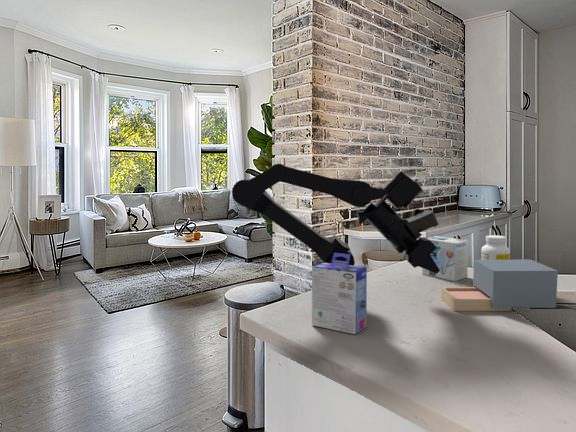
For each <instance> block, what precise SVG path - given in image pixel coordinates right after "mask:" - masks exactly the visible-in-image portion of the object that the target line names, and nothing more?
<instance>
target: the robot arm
mask: <svg viewBox="0 0 576 432" xmlns="http://www.w3.org/2000/svg"><path fill="white" fill-rule="evenodd" d="M278 183H285V184H287V185H288V184H289V185H291V186H296V187H300V188H302V189H303V188H304V189H308V190H311V191H315V192H319V193H322V194H323V193H324V194H327V195H329V196H332V197H333V198H336V199H338V200H340V201H342V202H344V203H347V204H349V205H351V206H353V207H356V208H363V207H365V208H364V209H363V210H362V211H360V210H357V211H356V214H357V223H358V224H359V225H362V224H363V223H364V222H365V221H368V222H369V223H370V224H371V226H373V228H375V229H376V230H377V232H379V233H380V234H381V235H382V236H383V237H384V238H385V239H386V240H387V242H389V243H390V244H391V247H392V248H394V250H395V251H396V252H398V254H403V253H404V255H403V257H404V259H405V260H406V261H407V262H408V264H410V265H411V266H412V267H413V268H414V269H415V268H418V267H419V268H421V269H422V268H424V269H426V270H429V271H431V272H433V273H436V274H437V273H438V272H439V271H440V270H439V268H438V266H437V265H436V263H435V262H434V260H433V258H432V257H431V255H430V254H431V253H432V252H433V251H434V250H436V248H437V247H436V246H435V245H434V244H433V243H432V242H431V241H430V240H428V239H427V238H428V237H421V236H423V234H422V232H424V231H426V230H429V229H430V228H435V227H437V226H439V225H440V223H439V221H438V219H437V217H436V215H435V213H434V211H433V210H431V209H425V210H424V211H423V210H422V209H420V208H419V207H418V208H415V209H412V210H411V216H409V218H404V217H403V216H401V215H400V214H399V213H397V212H396V211H395V210H394V209H393V207H394V208H395V209H396V210H399V209H404V210H405V209H406V208H407V207H408V206H409V205H410V204H411V203H413V202H414V200H415V199H416V198H417V197H418V196H419V195H421V194H422V193H423V191H424V190H423V188H422V187H421V186H420V185H419V184H418V183H417V181H415V179H412V178H411V177H409V176H408V175H407V174H405V173H404V172H403V171H402V170H400V171H399V170H398V172H396V173H395V175H394V176H393V177H392V179H391V180H389V182H387V183H386V184H385V185H384V186H383V187H381V186H375V187H374V186H371V185H370V184H369V183H368V182H366V181H363V180H357V179H356V180H355V179H346V178H345V179H344V178H343V179H342V178H332V177H327V176H324V175H320V174H318V173H317V174H316V173H313V172H309V171H304V170H302V169H297V168H294V167H289V166H286V165H284V164H282V163H275V164H273V165H272V166H271V167H270V168H268V169H266V170H265V171H263V172H261V173H259V174H258V175H255V176H254V177H252V178H247V179H240V180H238V181H236V182H235V184H234V185H233V186H232V190H231V194H232V199H233V200H234V202H235V203H237V204H238V205H240V206H242V207H245V208H246V209H248V210H250V211H252V212H255V213H258V214H260V215H263V216H265V217H266V218H268V219H269V220H270V221H272V222H273V223H274V224H276V225H277V226H278V227H280V228H281V229H282V230H284V231H285V232H286V233H288V234H290V235H291V236H292V237H293V238H295V239H297V240H298V241H300V242H301V243H302V244H304V245H305V246H306V247H308V248H309V249H310V250H312V251H313V252H314V253H315V254H316V255H317V256H318V258H319V259H320V260H321V261H322V262H321V263H331V262H332V258H333V255H334V253H343V254H350V261H349V265H354V266H355V263H356V261H355V257H354V255H353V253H352V251H351V248H350V246H349V243H347V242H343V241H342V240H341V239H339V237H337V235H336V234H333V235H332V237H331V238H329V237H326V236H324V235H323V234H321V233H319V232H318V231H316V229H314V228H312V227H311V226H310V225H308V224H307V223H306V222H305V221H302V219H300V218H298V217H297V216H296V215H295V214H293V213H292V212H290V211H289V210H287V209H286V208H285V207H284V206H282V205H281V204H279V203H278V202H276V201H275V200H274V199H273V198H272V197H271V195H270V193H268V192H267V190H268V189H270V188H272V187H273V186H275V185H276V184H278ZM375 200H377V202H376V203H373V202H372V201H375ZM387 201H388V203H387ZM389 203H390V204H391V205H392V206H393V207H391V205H389ZM335 260H340V261H346V260H347V259H346V258H344V257H336V258H335Z"/></svg>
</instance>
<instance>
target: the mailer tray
mask: <svg viewBox="0 0 576 432" xmlns="http://www.w3.org/2000/svg"><path fill="white" fill-rule="evenodd" d="M440 288H441V293H440V294H441V295H440V298H441V299H442V300H443V302H444V303H445V304H447V305H448V307H450V308H451V309H452V310H453V312H475V311H476V312H511V311H512V308H492V307H491V304H492V298H491V297H490V296H488V295H487V294H486V293H484V292H483V291H481V290H480V289H479V288H477V287H473V286H472V287H470V286H468V287H467V286H466V287H465V286H464V287H463V286H461V287H458V286H457V287H455V286H453V287H451V286H450V287H443V286H442V287H440Z"/></svg>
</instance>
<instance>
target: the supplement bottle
mask: <svg viewBox="0 0 576 432" xmlns="http://www.w3.org/2000/svg"><path fill="white" fill-rule="evenodd" d="M485 242H486V244H484V245H483V246H482V247H481V249H480V250H481V252H480V260H511V259H510V258H511V257H510V256H511V255H510V253H511V252H510V251H511V250H510V248H509V247H508V246H506V245H505V244H506V242H507V237H506V236H505V235H498V234H497V235H493V234H492V235H490V234H489V235H485Z"/></svg>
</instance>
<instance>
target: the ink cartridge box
mask: <svg viewBox="0 0 576 432" xmlns="http://www.w3.org/2000/svg"><path fill="white" fill-rule="evenodd" d="M336 257H344V258H346V259H347V260H346V261H340V260H335V258H336ZM349 261H350V254H343V253H334V255H333V258H332V262H331V263H322V262H320V263H318V264H316V265H313V266H311V325H312V326H313V327H314V326H315V327H319V328H324V329H329V330H333V331H338V332H341V333H347V334H351V335H357V334H358V333H359V332H361V331H362V330H364V329H365V328H367V322H368V321H367V309H368V308H367V305H368V304H367V297H368V296H367V293H368V292H367V287H368V286H367V285H368V283H367V281H368V280H367V279H368V277H367V275H368V273H367V272H368V271H367V269H368V268H367V266H363V265H362V266H361V265H355V264H354V265H349Z"/></svg>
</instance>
